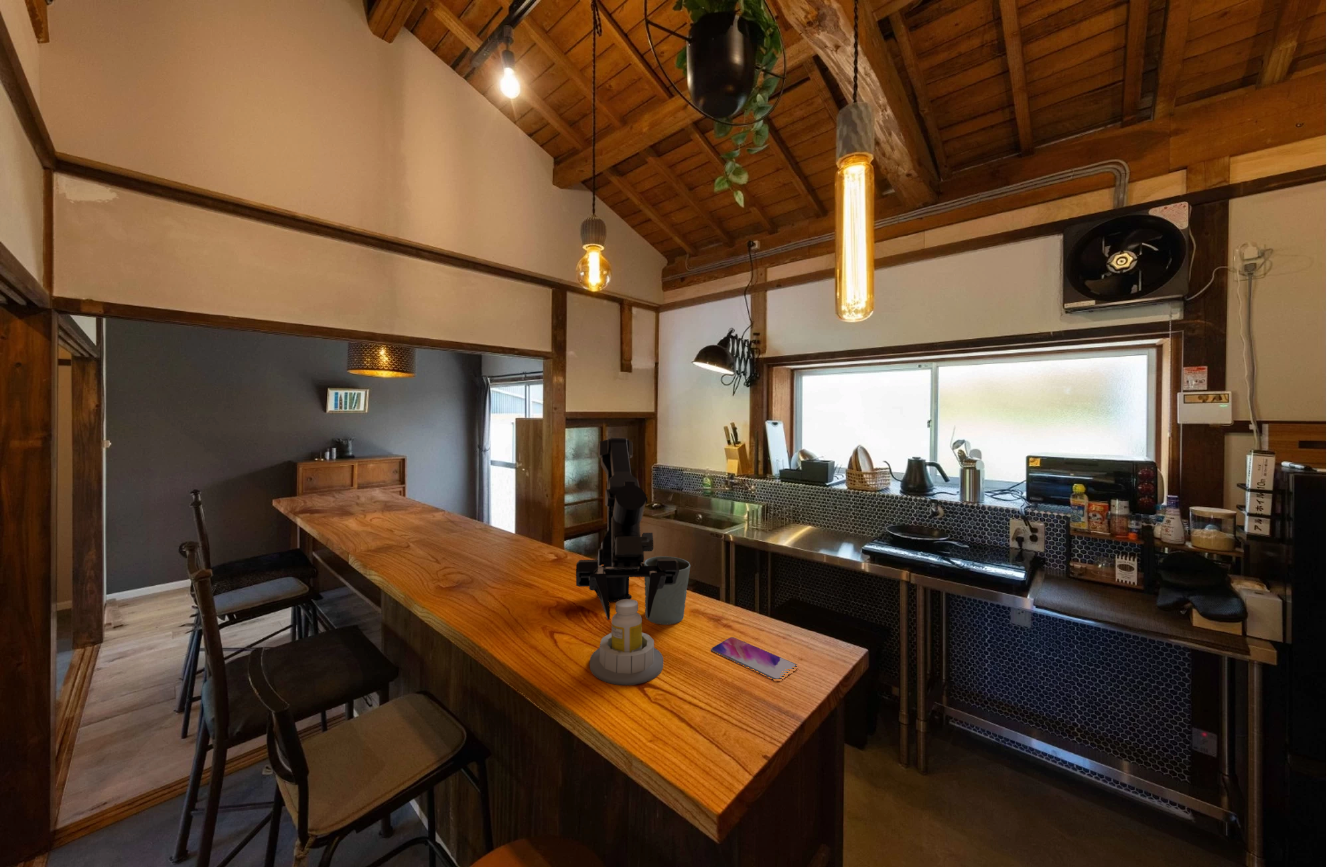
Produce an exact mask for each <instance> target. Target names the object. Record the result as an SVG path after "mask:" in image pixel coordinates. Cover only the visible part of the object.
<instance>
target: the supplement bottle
mask: <svg viewBox="0 0 1327 867" xmlns="http://www.w3.org/2000/svg"><path fill="white" fill-rule="evenodd" d="M638 611H639V603H638V601H637V600H636V599H632V598H630V599H624V600H619V601H615V614H613V616H612V617H611V633H612V650H615V651H618V652H628V653H631V652H635V651H640V650H642V633H643V624H642V623H643V621H642V620H643V619H642V616H641V615H640V613H638Z"/></svg>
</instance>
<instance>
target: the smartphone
mask: <svg viewBox="0 0 1327 867" xmlns="http://www.w3.org/2000/svg"><path fill="white" fill-rule="evenodd" d="M710 651H711V652H712V651H713V652H715V653H718V654H720V655H722V656H723V658H724V657H726V658H727V659H726V658H725V659H726V660H728V659H730V660H732V661H735V662H736V663H735V662H734V663H735V664H737V663H739V664H741V665H744V666H745V667H749V668H750V669H754V670H755V671H758V672H759V673H762V674H764V675H766V676H767V677H770V678H772V679H782V678H780V677H784V676H782V675H785V674H783V673H788V672H784V671H790V670H787V669H794V668H792V667H797V666H796V665H798V664H796V663H795V662H792V661H790V660H788V659H785V658H784V657H781V656H779V655H776V654H774V653H772V652H769V651H767V650H764V649H762V648H760V647H757V646H756V645H753V644H750V643H749V642H747V641H743V640H741V639H739V638H737V637H734V636H731V637H729V638H726V639H725V640H723V641H721V642H719V643H718V644H716V645H715V646H712V647H711V648H710ZM713 652H712V653H713ZM715 653H714V654H715ZM718 654H717V655H718ZM720 655H719V656H720ZM722 656H721V657H722ZM730 660H729V661H730ZM732 661H731V662H732ZM739 664H738V665H739ZM741 665H740V666H741ZM794 665H795V666H794ZM745 667H744V668H745ZM785 669H786V670H785ZM782 671H783V672H782ZM781 673H782V674H781ZM780 675H781V676H780Z"/></svg>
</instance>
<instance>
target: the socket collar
mask: <svg viewBox="0 0 1327 867" xmlns="http://www.w3.org/2000/svg"><path fill="white" fill-rule="evenodd" d="M663 668H664V657H663V655H662V653H661V652H660V650H658V649H657V648H655V640H654V638H652V637H651V636H650V635H649V634H648V633H644V632H642V650H640V651H635V652H631V653H628V652H618V651H615V650H612V632H610V633H607V635H605V636H603V637H602V638H601V640H600V643H599V648H597V649H596V650H594V652H592V654H591V655H590V658H589V670H590V671H591V674H592V675H593V676H594V677H595V678H597V679H598V680H600V681H603V682H605V683H606V684H611V685H617V686H635V685H636V686H637V685H640V684H645V683H647V681H648V682H650V681H651V680H654V679H655V678H656V677H658V676H659V675H660V674H661V673H662V672H663Z"/></svg>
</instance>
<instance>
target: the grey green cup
mask: <svg viewBox="0 0 1327 867" xmlns="http://www.w3.org/2000/svg"><path fill="white" fill-rule="evenodd" d="M657 559H675V560H676V561H677V562H678V565H679V573H678V576H677V580H676V583H675V584H672V585H664V587H663V588H662V589H658V590H657V592H656V595H655V597H654V600H653V605H652V609H651V613H650V617H649V618H647V613H646V608H647V589H648V583H649V577H644V596H645V597H644V603H645V604H644V616H645V618H646V620H647V621H649V622H651V623H653V624H656V625H665V626H667V625H668V626H669V625H674V624H678V623H680V622H681V621H683V619H684V617H685V616H684V615H685V608H686V601H687V600H686V599H687V593H688V591H687V589H688V584H689V576H690V570H691V564H690V562H689V561H687V560H686V559H683V558H680V557H675V556H667V555H666V556H665V555H664V556H653V557H650V558H647V559H644V562H643V566H655V565H656V561H657Z"/></svg>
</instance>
